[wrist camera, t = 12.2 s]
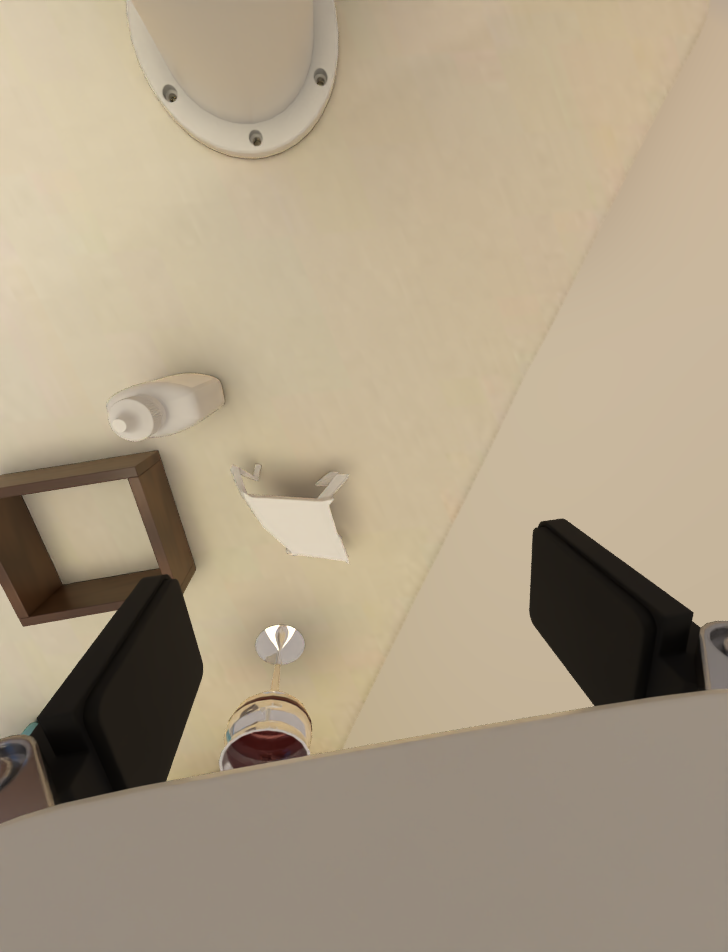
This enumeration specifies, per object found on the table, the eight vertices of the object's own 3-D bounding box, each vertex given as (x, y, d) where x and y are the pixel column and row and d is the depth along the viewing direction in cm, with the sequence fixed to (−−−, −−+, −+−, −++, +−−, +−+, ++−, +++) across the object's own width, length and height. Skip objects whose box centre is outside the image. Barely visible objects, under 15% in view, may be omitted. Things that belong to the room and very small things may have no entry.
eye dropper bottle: (160, 354, 31) (69, 363, 20) (232, 382, 32) (185, 407, 21) (146, 407, 32) (52, 444, 21) (216, 432, 33) (163, 480, 22)
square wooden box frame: (1, 474, 33) (-47, 495, 28) (158, 450, 33) (135, 466, 29) (57, 593, 36) (22, 627, 32) (196, 569, 37) (180, 599, 33)
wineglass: (232, 638, 40) (198, 755, 29) (290, 606, 40) (279, 713, 28) (270, 681, 42) (252, 806, 31) (326, 652, 42) (328, 768, 30)
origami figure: (377, 476, 36) (386, 496, 31) (343, 554, 38) (346, 583, 34) (246, 428, 34) (235, 442, 29) (217, 514, 36) (202, 540, 31)
